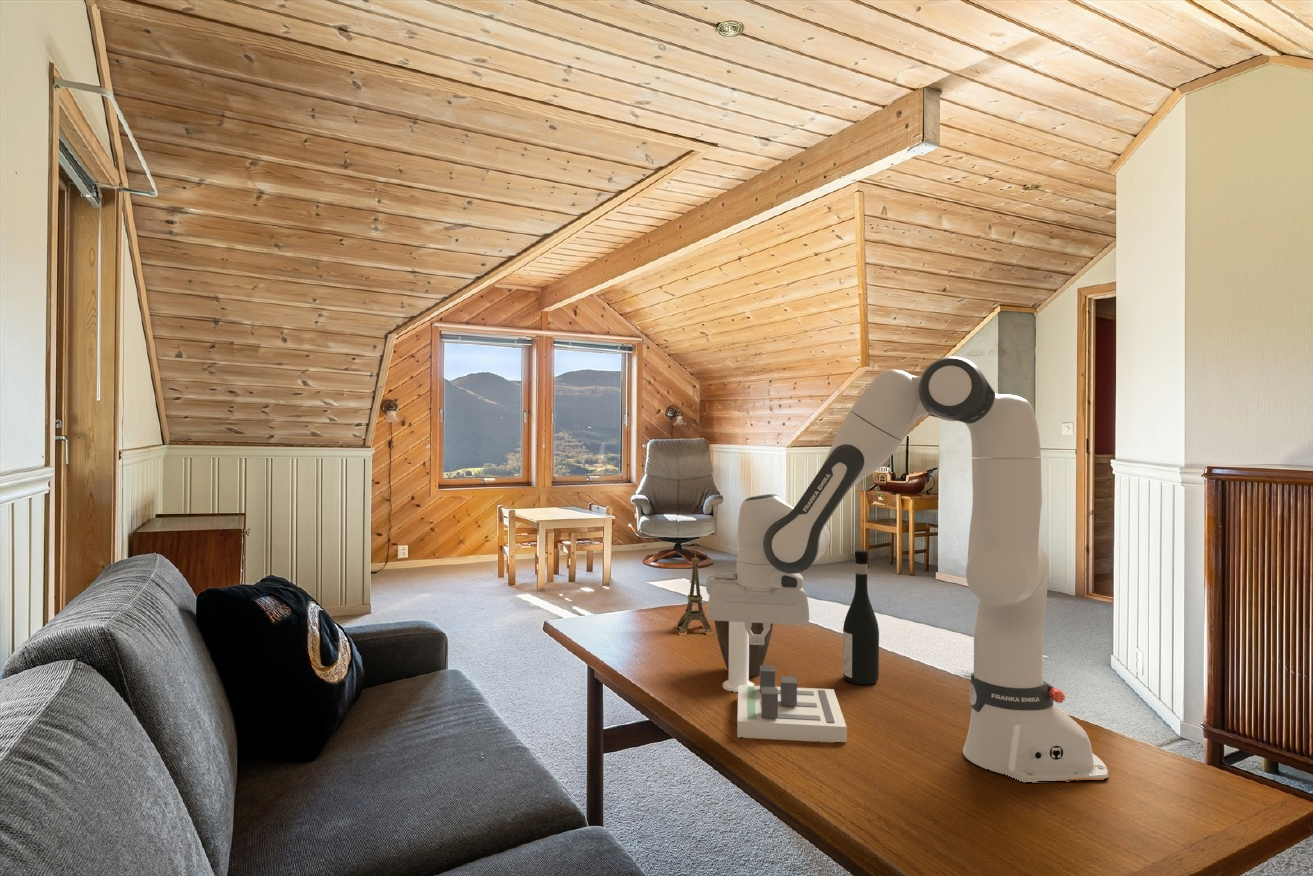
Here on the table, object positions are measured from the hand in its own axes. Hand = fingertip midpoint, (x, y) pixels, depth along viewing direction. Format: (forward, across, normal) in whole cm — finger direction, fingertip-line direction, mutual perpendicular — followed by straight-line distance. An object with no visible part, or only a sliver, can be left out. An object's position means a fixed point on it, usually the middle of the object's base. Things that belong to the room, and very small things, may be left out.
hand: (756, 644), depth 153 cm
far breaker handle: (+11, +3, +7) cm, 13 cm away
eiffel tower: (+16, -16, +67) cm, 70 cm away
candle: (+15, -3, +18) cm, 24 cm away
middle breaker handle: (+11, +7, 0) cm, 13 cm away
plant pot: (+15, -2, +29) cm, 33 cm away
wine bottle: (+15, +25, +27) cm, 39 cm away
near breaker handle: (+11, +3, -7) cm, 14 cm away
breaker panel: (+15, +7, 0) cm, 16 cm away
